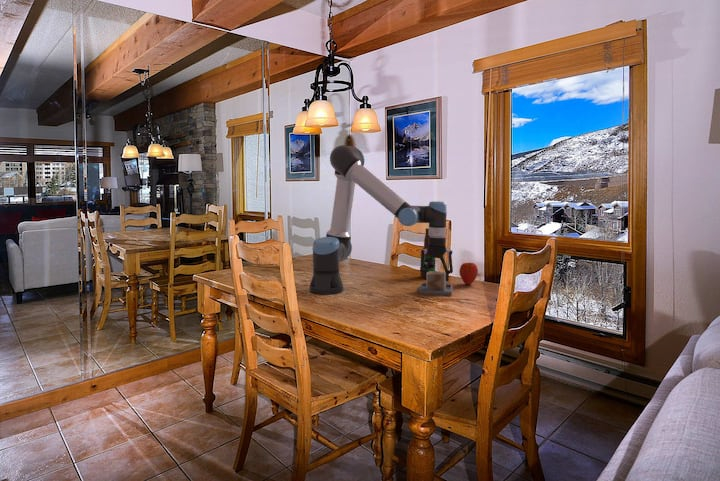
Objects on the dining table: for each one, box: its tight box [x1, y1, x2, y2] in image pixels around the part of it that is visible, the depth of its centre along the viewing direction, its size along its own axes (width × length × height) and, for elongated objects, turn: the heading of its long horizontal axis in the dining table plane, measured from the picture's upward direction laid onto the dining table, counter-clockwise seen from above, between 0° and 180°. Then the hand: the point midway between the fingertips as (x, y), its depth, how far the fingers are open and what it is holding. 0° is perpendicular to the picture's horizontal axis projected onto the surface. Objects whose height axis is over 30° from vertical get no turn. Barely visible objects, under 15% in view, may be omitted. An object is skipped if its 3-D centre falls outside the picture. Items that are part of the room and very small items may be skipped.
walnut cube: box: [427, 270, 445, 291], centre depth 206 cm, size 7×7×7 cm
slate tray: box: [418, 282, 453, 297], centre depth 206 cm, size 14×14×2 cm
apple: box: [459, 262, 479, 285], centre depth 218 cm, size 9×8×11 cm
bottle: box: [420, 227, 436, 279], centre depth 233 cm, size 7×7×25 cm
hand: (435, 287), depth 206 cm, fingers closed on walnut cube, 7 cm apart
